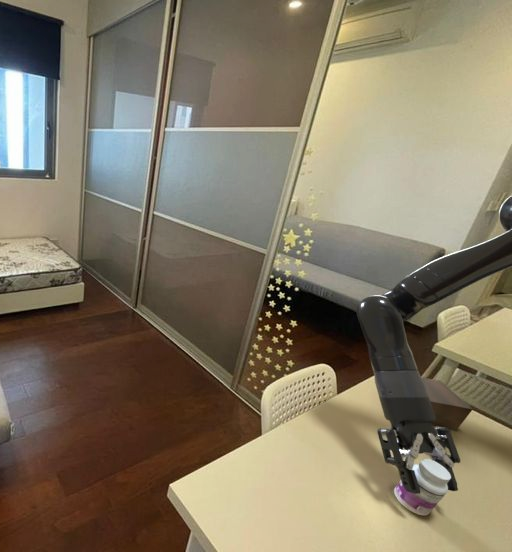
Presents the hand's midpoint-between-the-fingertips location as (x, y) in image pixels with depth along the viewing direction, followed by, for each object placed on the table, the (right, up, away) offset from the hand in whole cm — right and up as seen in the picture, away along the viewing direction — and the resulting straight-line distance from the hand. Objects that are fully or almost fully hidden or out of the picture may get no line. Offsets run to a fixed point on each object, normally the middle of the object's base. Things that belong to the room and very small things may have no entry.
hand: (432, 491), depth 58 cm
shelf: (+24, +3, +27) cm, 36 cm away
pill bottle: (-1, -5, +4) cm, 6 cm away
